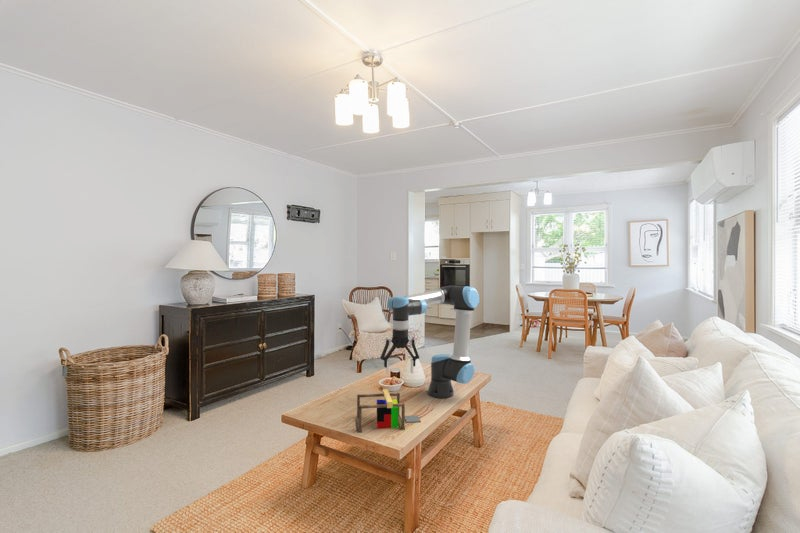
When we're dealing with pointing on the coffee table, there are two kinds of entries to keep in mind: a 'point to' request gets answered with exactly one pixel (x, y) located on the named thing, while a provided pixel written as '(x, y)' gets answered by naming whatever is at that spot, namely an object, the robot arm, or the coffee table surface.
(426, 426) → the coffee table surface
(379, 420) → the puzzle toy
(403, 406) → the rack
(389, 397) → the bar
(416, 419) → the pad
